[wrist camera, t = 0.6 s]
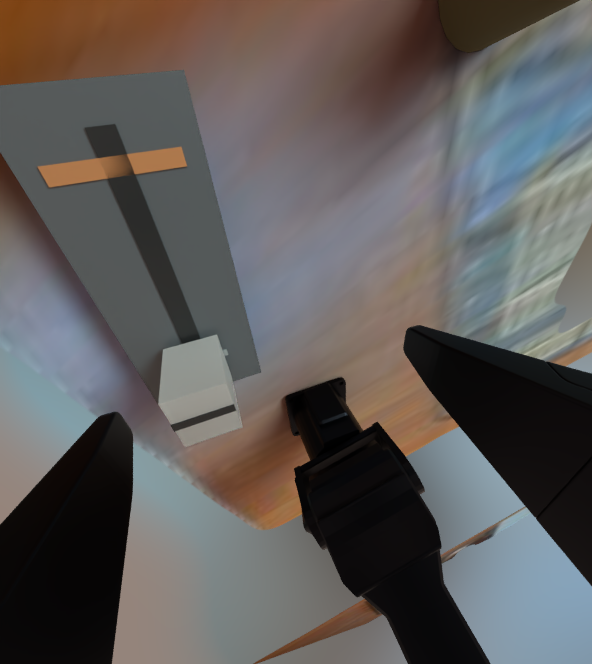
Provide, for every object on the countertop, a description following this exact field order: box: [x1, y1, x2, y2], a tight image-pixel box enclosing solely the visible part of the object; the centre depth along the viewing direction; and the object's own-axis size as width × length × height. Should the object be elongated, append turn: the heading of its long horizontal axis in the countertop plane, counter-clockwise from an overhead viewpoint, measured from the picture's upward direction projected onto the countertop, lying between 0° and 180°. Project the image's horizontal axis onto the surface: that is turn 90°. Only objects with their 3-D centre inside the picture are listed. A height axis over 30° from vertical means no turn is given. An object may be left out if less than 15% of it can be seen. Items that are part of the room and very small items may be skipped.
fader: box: [158, 335, 242, 447], centre depth 18 cm, size 4×4×5 cm
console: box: [0, 70, 261, 403], centre depth 17 cm, size 18×8×2 cm, turn 7°
